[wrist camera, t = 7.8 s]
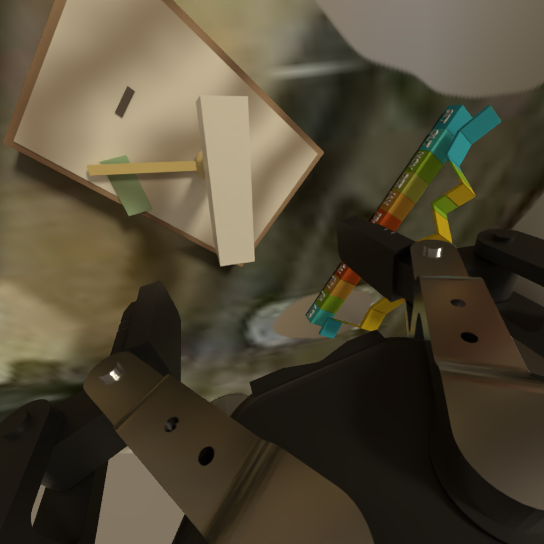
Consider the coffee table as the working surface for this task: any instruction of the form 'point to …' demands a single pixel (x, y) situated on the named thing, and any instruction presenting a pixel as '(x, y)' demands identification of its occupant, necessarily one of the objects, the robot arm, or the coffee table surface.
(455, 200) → the chart
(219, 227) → the wooden mallet
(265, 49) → the coffee table surface
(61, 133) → the desk tray with supplies
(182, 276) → the coffee table surface
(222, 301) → the coffee table surface
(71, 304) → the coffee table surface
